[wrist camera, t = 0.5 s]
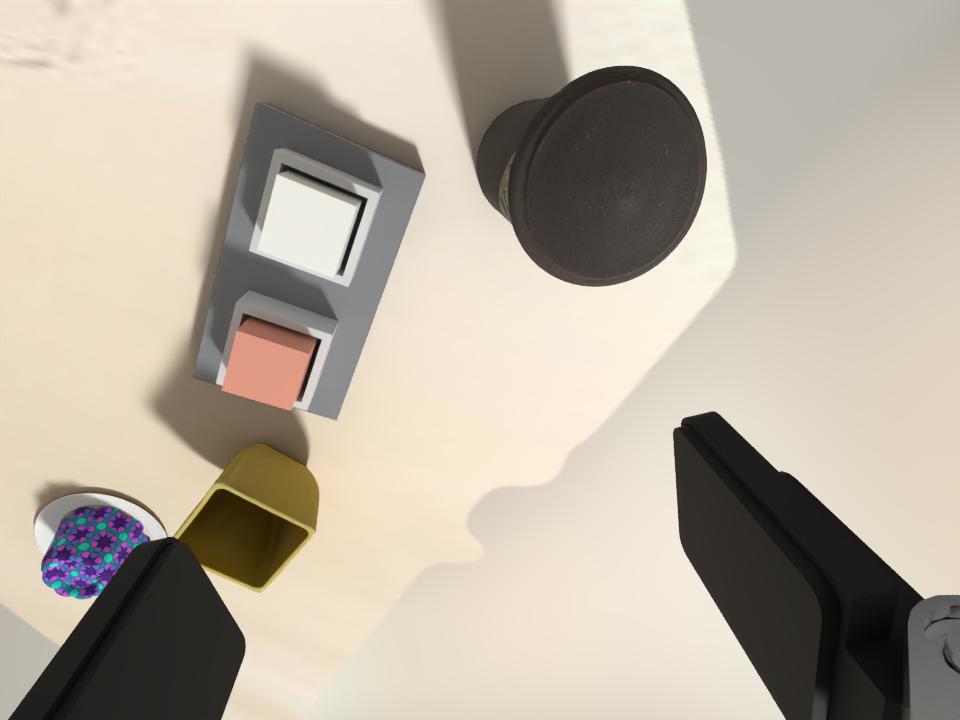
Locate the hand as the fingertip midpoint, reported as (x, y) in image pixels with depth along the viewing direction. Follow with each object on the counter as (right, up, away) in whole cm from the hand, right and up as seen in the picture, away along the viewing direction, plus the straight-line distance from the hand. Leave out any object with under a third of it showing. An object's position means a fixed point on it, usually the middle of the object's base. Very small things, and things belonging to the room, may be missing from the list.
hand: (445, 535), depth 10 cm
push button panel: (-13, +10, +31) cm, 35 cm away
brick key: (-15, +4, +29) cm, 33 cm away
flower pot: (-19, -7, +39) cm, 44 cm away
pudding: (-36, -14, +41) cm, 56 cm away
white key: (-11, +13, +25) cm, 31 cm away
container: (+4, +19, +29) cm, 35 cm away
